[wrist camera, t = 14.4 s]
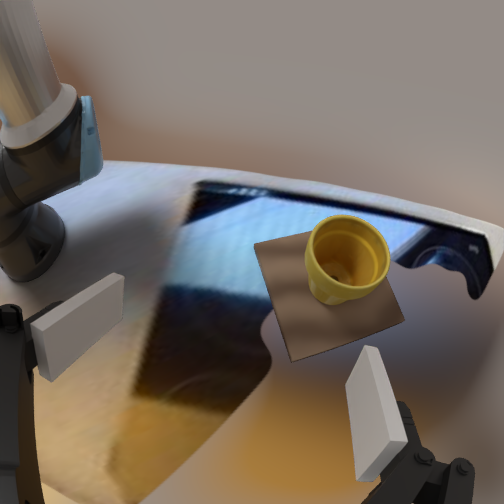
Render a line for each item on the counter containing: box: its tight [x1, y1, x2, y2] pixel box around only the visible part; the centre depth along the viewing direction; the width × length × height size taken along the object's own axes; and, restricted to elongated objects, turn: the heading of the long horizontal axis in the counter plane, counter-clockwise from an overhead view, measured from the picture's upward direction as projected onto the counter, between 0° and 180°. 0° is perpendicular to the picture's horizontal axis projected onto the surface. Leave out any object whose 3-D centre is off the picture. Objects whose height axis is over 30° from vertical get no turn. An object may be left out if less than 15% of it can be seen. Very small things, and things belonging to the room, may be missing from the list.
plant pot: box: [305, 215, 390, 305], centre depth 39 cm, size 10×10×10 cm
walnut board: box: [254, 231, 405, 363], centre depth 44 cm, size 18×18×1 cm
